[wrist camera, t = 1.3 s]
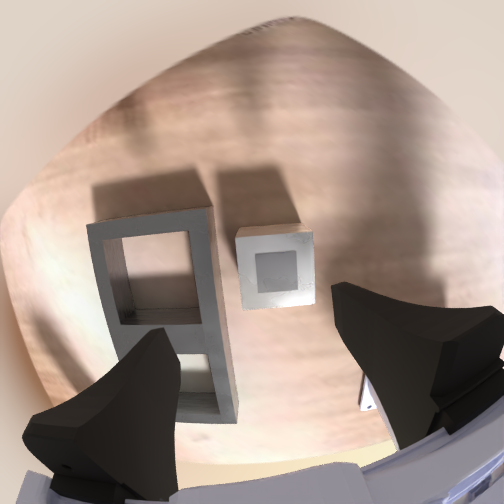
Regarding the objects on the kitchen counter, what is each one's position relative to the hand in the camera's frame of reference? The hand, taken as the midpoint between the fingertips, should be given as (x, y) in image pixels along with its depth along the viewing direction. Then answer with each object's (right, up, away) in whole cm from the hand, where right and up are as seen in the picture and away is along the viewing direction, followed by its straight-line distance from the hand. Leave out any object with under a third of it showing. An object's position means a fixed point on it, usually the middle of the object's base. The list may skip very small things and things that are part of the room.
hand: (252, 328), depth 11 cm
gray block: (+1, +3, +10) cm, 10 cm away
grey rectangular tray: (-7, -3, +11) cm, 13 cm away
